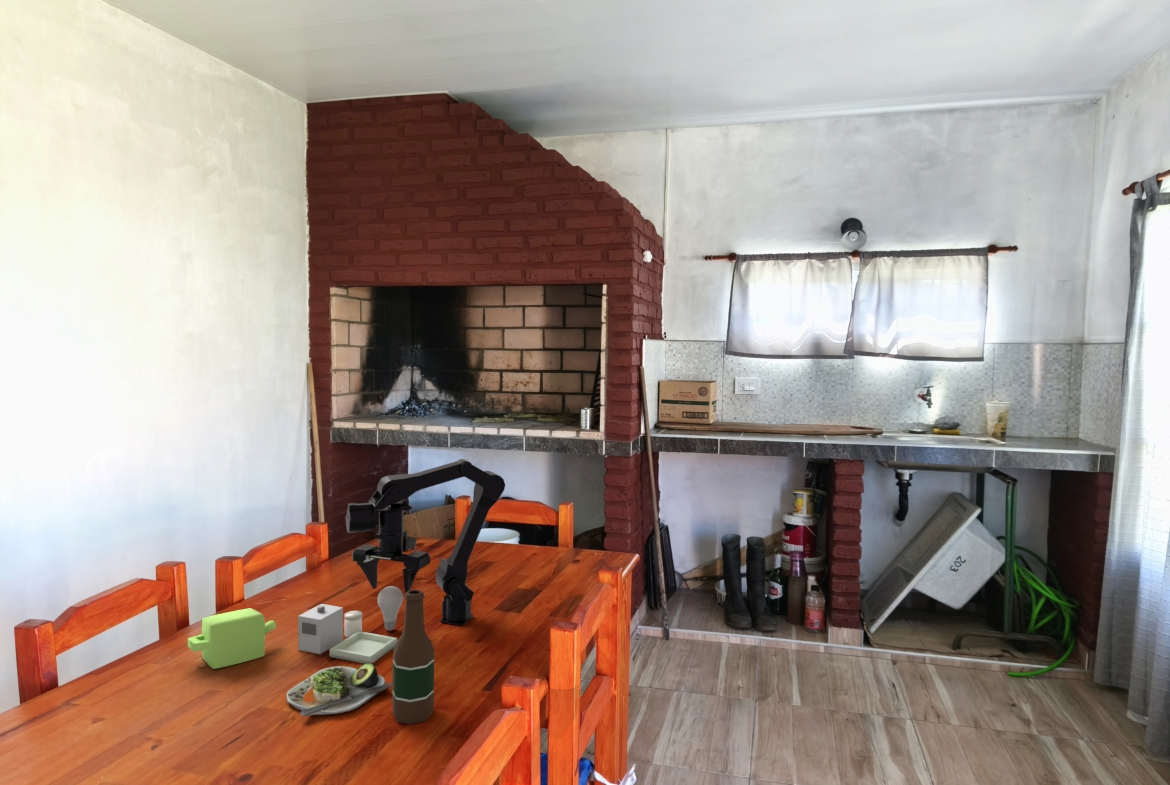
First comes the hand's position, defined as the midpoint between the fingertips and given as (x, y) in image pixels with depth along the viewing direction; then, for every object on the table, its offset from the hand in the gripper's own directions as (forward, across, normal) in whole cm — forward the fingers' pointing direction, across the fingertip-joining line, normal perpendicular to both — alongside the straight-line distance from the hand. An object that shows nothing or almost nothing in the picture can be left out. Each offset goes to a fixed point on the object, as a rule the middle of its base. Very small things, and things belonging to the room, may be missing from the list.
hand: (390, 591), depth 173 cm
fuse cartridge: (+10, +7, +5) cm, 13 cm away
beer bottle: (+10, -26, +32) cm, 43 cm away
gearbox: (+10, +24, +24) cm, 36 cm away
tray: (+10, -1, +12) cm, 16 cm away
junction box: (+10, +10, +13) cm, 19 cm away
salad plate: (+10, -8, +30) cm, 33 cm away
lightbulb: (+10, 0, 0) cm, 10 cm away
